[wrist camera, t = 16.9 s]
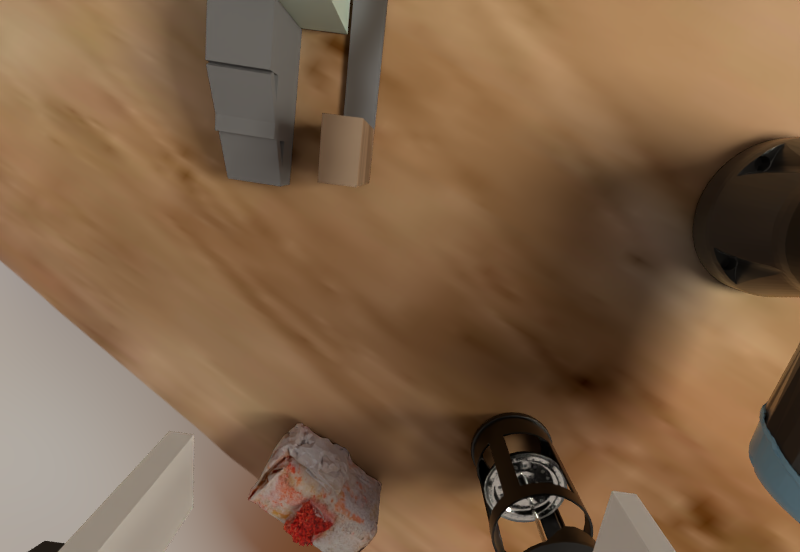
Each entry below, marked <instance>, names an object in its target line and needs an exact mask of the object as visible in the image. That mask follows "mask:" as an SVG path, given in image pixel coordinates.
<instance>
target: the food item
mask: <svg viewBox="0 0 800 552" xmlns="http://www.w3.org/2000/svg"><path fill="white" fill-rule="evenodd" d="M381 485H382V484H381V482H379V481H377V480H376V479H374V478H373V477H370V476H368V475H366V474H365V472H364V471H363V470H362V469H361V468H359V467H358V466H357V465H355V464H354V463H353V462H352V460H351V457H350V454H349V452H348V451H347V449H346V448H344V447H341V446H339V445H338V444H332V443H331V442H330V440H329V439H328V438H321V437H319V436H318V435H316V434H315V433H313V432H312V431H311V430H310V429H309V427H308V426H303V423H300V424H299V423H298V424H296V425H295V427H293V428H292V429H291V430H289V432H288V433H287V434H285V435H284V436H283V437H282V439H281V440H280V442H279V443H278V444H277V446H276V447H275V449H274V450H273V453H272V455H271V458H270V459H269V461H268V463H267V465H266V466H265V468H264V470H263V472H262V475H261V476H260V478H259V479H258V481H257V482H256V484H255V485H254V486H253V488H252V489H251V491H250V494H249V498H248V500H249V501H251V502H253V503H255V504H259V506H260V507H261V508H262V509H263V510H264V511H265V512H267V513H269V514H270V515H272V516H273V517H275V518H277V519H278V520H280V521H281V522H282V523H284V524H285V525H284V530H286V532H288V533H289V534H290V535H292V537H293V542H295V543H296V542H297V543H298V542H299V544H300V545H302V546H304V545H305V543H306V544H307V546H308V545H309V544H310V545H312V544H313V545H314V546H315V547H317V548H319V549H320V550H321V551H323V552H360V551H361V550H363V549H364V548H365V547H366V546H367V545H368V544H369V543H370V542H371V540H372V539H373V538H374V536H375V535H376V533H377V523H378V514H379V503H380V492H381Z"/></svg>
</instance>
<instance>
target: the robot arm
mask: <svg viewBox="0 0 800 552" xmlns="http://www.w3.org/2000/svg"><path fill="white" fill-rule="evenodd" d="M693 238H694V244H695V249H696V252H697V254H698V257H699V259H700V261H701V263H702V264H703V266H704V267H705V268H706V270H707V271H708V272H709V273H710V274H711V275H712V276H713V277H714V278H716V279H717V280H718V281H720V282H722V283H723V284H725V285H727V286H730V287H732V288H735V289H738V290H740V291H743V292H746V293H749V294H753V295H758V296H764V297H800V137H795V138H781V139H775V140H770V141H766V142H763V143H760V144H757V145H755V146H753V147H750V148H748V149H746V150H745V151H743V152H741V153H740V154H738V155H737V156H735V157H734V158H732V159H731V160H730V161H729V162H727V163H726V164H725V165H724V166H723V167H722V168H721V169H720V170H719V171H718V172H717V173H716V174H715V176H714V177H713V178H712V180H711V181H710V182H709V184H708V185H707V187H706V188H705V190H704V192H703V194H702V196H701V198H700V200H699V203H698V206H697V209H696V213H695V217H694V224H693ZM749 458H750V460H751V463H752V465H753V467H754V471H755V473H756V475H757V477H758V479H759V480H760V482H761V483H762V485H763V486H764V487H765V489H766V490H767V491H768V492H769V493H770V495H771V496H772V497H773V498H774V499H775V500H776V501H777V502H778V504H779V505H780V506H781V507H782V508H783V509H784V510H786V511H787V512H788V513H789V514H790V515H791V516H792V517H793V518H794V519H795V520H796V521H798V522H799V523H800V343H799V345H798V347H797V349H796V351H795V353H794V355H793V356H792V358H791V360H790V362H789V364H788V366H787V368H786V369H785V371H784V373H783V375H782V377H781V379H780V380H779V382H778V384H777V386H776V388H775V390H774V391H773V393H772V395H771V397H770V399H769V401H768V402H767V403H766V404H764V405H763V407H762V408H761V411H760V421H759V423H758V426H757V428H756V430H755V432H754V435H753V437H752V439H751V441H750V445H749ZM193 489H194V435H193V434H187V433H180V432H172V431H170V432H168V433H167V434H166V436H165V437H164V438H163V439H162V440H161V441H160V442H159V443H158V444H157V445H156V446H155V447H154V449H153V450H152V451H151V452H150V453H149V454H148V455H147V456H146V457H145V458H144V459H143V460H142V461H141V462H140V464H139V465H138V466H137V467H136V468H135V469H134V470H133V471H132V472H131V473H130V474H129V475H128V477H127V478H126V479H125V480H124V481H123V482H122V483H121V484H120V485H119V486H118V487H117V488H116V489H115V491H114V492H113V493H112V494H111V495H110V496H109V497H108V498H107V499H106V500H105V501H104V502H103V504H102V505H101V506H100V507H99V508H98V509H97V510H96V511H95V512H94V513H93V514H92V515H91V517H90V518H89V519H88V520H87V521H86V522H85V523H84V524H83V525H82V526H81V527H80V528H79V529H78V531H77V532H76V533H75V534H74V535H73V536H72V537H71V538H70V539H69V540H68V542H66V543H65V544H64V543H57V542H50V541H44V542H42V543H41V544H39V545H38V546H36V547H35V548H33V549H32V550H30V551H28V552H165V550H166V549H167V547H168V546H169V544H170V542H171V541H172V539H173V538H174V536H175V535H176V533H177V531H178V530H179V529H180V527H181V525H182V524H183V522H184V521H185V519H186V518H187V516H188V515H189V513H190V511H191V510H192V508H193V492H194V490H193ZM593 552H676V551H675V550H674V548H673V547H672V545H671V544H670V543H669V541H668V540H667V538H666V537H665V535H664V534H663V532H662V531H661V529H660V528H659V527H658V525H657V524H656V522H655V521H654V519H653V518H652V516H651V515H650V513H649V512H648V510H647V509H646V508H645V506H644V505H643V503H642V502H641V500H640V499H639V497H638V496H637V494H632V493H624V492H617V491H612V492H611V496H610V499H609V502H608V505H607V508H606V512H605V515H604V518H603V521H602V524H601V527H600V531H599V534H598V537H597V540H596V543H595V546H594V550H593Z"/></svg>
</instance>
